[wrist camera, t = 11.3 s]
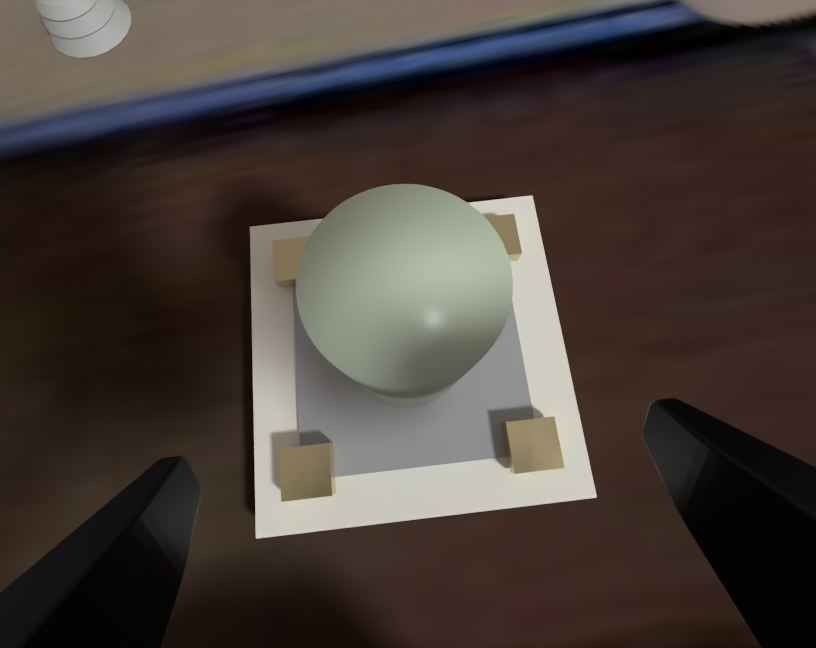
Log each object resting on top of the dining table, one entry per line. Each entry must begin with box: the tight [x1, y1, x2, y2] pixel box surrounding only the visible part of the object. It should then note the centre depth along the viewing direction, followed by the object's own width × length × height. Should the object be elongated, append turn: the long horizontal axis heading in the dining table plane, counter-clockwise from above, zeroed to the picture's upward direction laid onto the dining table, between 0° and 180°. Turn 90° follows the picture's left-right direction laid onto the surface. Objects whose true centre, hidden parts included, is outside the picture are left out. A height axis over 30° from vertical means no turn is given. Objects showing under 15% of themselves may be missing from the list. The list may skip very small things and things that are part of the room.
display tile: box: [250, 196, 597, 539], centre depth 19 cm, size 14×14×2 cm
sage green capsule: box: [296, 184, 513, 408], centre depth 14 cm, size 5×5×9 cm
